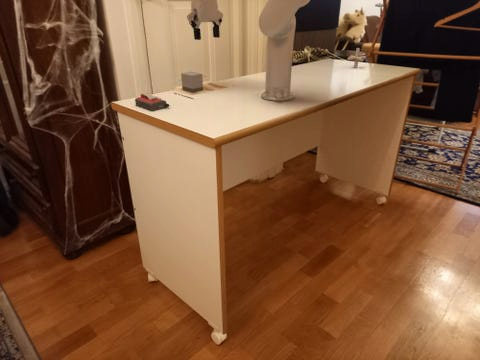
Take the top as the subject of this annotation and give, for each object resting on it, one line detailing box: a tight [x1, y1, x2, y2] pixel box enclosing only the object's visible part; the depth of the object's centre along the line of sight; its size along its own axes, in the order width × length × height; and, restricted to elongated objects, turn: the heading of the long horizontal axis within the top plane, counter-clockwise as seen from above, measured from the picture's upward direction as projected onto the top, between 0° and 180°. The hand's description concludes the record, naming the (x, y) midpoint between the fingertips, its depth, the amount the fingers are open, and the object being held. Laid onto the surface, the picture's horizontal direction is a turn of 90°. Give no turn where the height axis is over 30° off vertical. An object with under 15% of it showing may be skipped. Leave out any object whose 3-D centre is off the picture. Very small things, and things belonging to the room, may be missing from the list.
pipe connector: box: [347, 47, 367, 69], centre depth 187 cm, size 10×10×10 cm
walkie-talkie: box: [134, 92, 170, 112], centre depth 127 cm, size 9×4×20 cm
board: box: [173, 81, 234, 100], centre depth 144 cm, size 22×12×2 cm, turn 134°
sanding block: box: [180, 71, 204, 93], centre depth 139 cm, size 5×7×6 cm
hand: (207, 38), depth 136 cm, fingers open, 9 cm apart
